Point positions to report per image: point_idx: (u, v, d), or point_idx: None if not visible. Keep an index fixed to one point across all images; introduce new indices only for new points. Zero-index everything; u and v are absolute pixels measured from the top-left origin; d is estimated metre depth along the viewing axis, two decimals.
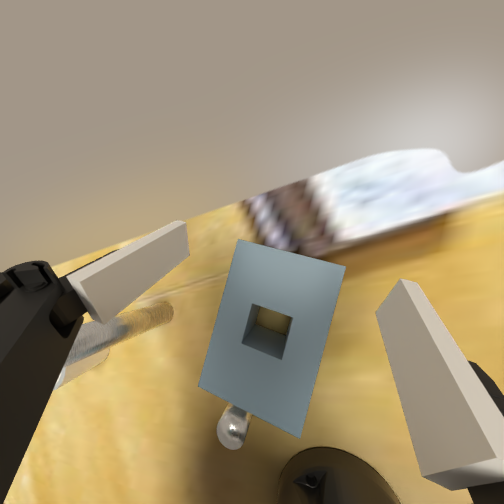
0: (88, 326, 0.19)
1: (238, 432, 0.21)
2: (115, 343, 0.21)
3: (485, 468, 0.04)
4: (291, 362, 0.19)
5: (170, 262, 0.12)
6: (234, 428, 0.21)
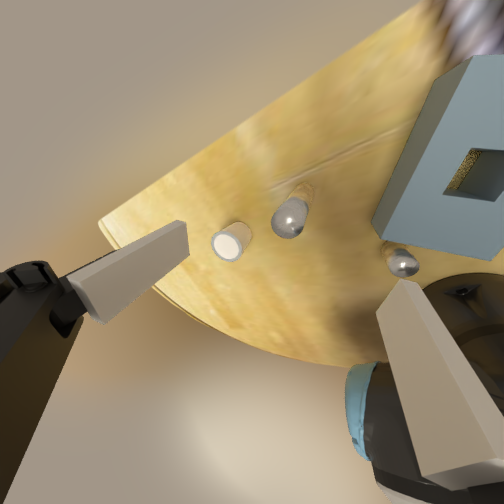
0: (297, 200, 0.21)
1: (413, 266, 0.26)
2: None
3: (485, 468, 0.04)
4: None
5: (170, 262, 0.12)
6: (409, 264, 0.26)
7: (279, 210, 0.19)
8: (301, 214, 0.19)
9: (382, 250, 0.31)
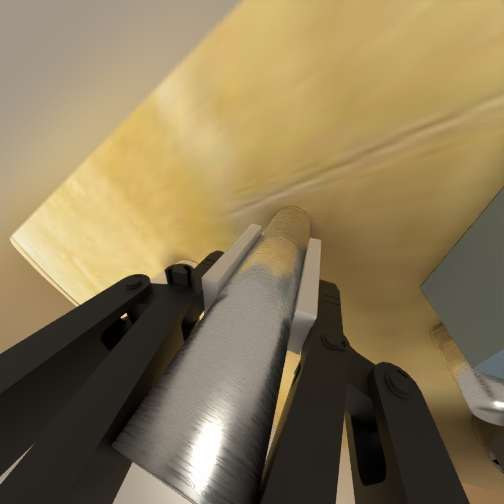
0: (252, 316, 0.06)
1: None
2: None
3: (299, 323, 0.07)
4: None
5: None
6: None
7: (124, 452, 0.04)
8: (236, 497, 0.03)
9: (439, 339, 0.16)
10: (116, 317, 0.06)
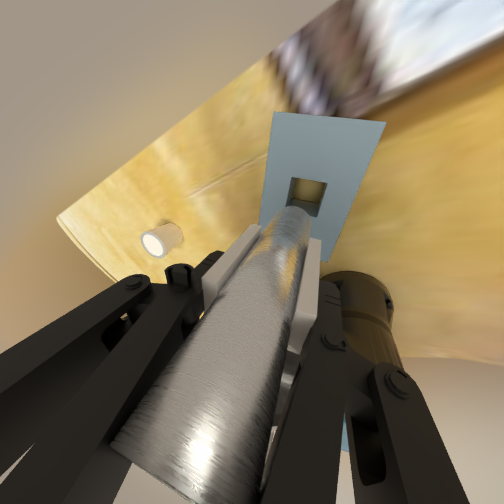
0: (252, 315, 0.06)
1: None
2: None
3: (299, 323, 0.07)
4: (324, 218, 0.25)
5: None
6: None
7: (122, 452, 0.04)
8: (235, 497, 0.03)
9: None
10: (116, 317, 0.06)
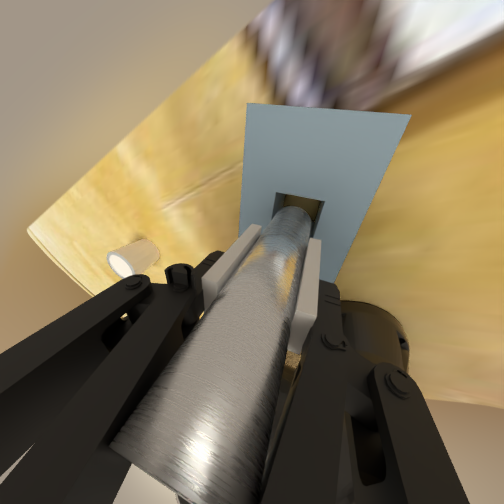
0: (252, 315, 0.06)
1: None
2: None
3: (299, 323, 0.07)
4: (321, 245, 0.19)
5: None
6: None
7: (121, 453, 0.03)
8: (235, 498, 0.03)
9: None
10: (116, 317, 0.06)
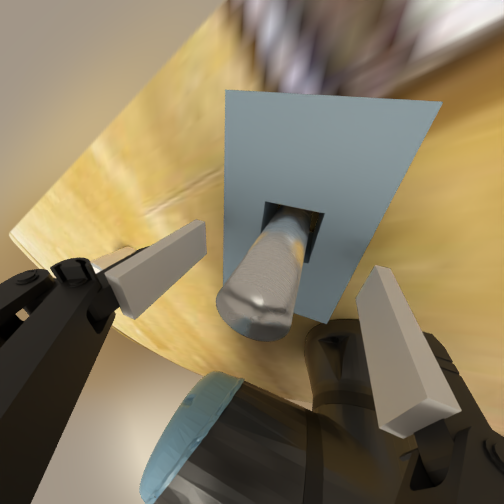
0: (281, 245, 0.10)
1: None
2: None
3: (422, 410, 0.05)
4: (320, 265, 0.16)
5: (190, 260, 0.12)
6: None
7: (231, 286, 0.08)
8: (285, 300, 0.07)
9: None
10: (13, 311, 0.06)
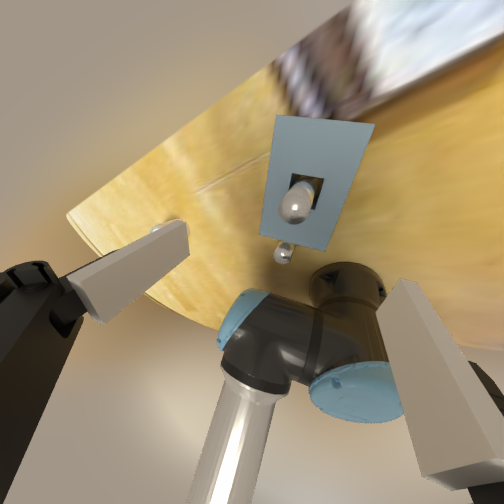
0: (304, 188, 0.22)
1: (286, 255, 0.35)
2: None
3: (485, 468, 0.04)
4: (321, 210, 0.28)
5: (170, 262, 0.12)
6: (284, 254, 0.35)
7: (287, 196, 0.20)
8: (308, 201, 0.19)
9: None
10: None
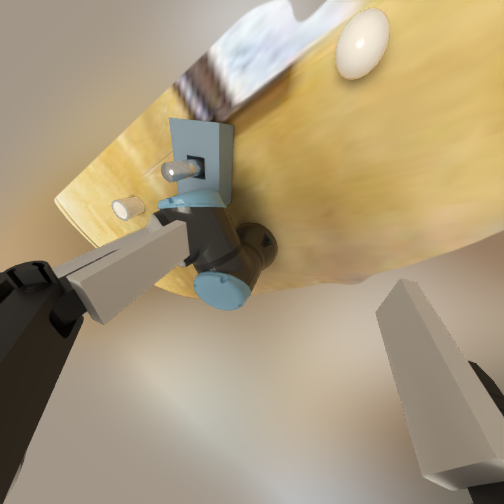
0: (181, 161, 0.37)
1: None
2: (195, 173, 0.40)
3: (485, 468, 0.04)
4: (209, 179, 0.42)
5: (170, 262, 0.12)
6: None
7: (163, 164, 0.34)
8: (174, 166, 0.34)
9: None
10: None
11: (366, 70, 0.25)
